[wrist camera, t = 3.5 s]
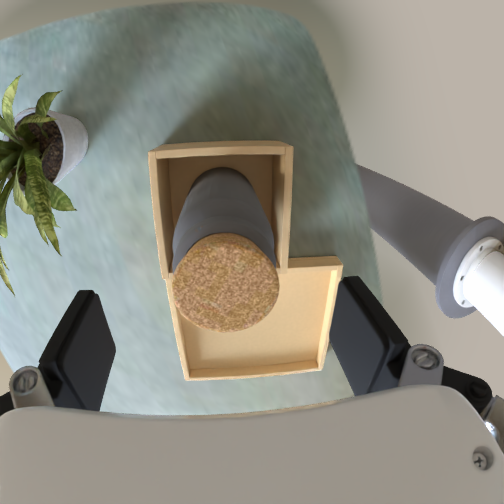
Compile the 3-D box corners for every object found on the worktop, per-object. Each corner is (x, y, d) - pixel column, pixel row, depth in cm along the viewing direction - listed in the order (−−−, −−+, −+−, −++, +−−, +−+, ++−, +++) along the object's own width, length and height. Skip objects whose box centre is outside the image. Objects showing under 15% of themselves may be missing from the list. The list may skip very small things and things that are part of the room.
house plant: (15, 222, 25) (-80, 304, 10) (2, 99, 19) (-116, 118, 4) (127, 213, 26) (45, 324, 11) (120, 66, 20) (8, 24, 6)
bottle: (267, 199, 27) (318, 290, 13) (220, 241, 28) (224, 359, 14) (223, 152, 24) (227, 197, 11) (175, 198, 26) (131, 291, 12)
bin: (278, 140, 25) (293, 146, 20) (275, 246, 29) (287, 273, 24) (161, 144, 24) (147, 151, 19) (170, 251, 28) (162, 279, 23)
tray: (336, 255, 30) (343, 264, 29) (318, 358, 37) (322, 370, 35) (167, 263, 29) (164, 273, 27) (186, 368, 35) (185, 380, 33)
